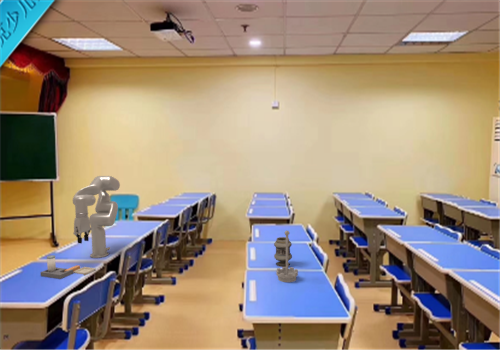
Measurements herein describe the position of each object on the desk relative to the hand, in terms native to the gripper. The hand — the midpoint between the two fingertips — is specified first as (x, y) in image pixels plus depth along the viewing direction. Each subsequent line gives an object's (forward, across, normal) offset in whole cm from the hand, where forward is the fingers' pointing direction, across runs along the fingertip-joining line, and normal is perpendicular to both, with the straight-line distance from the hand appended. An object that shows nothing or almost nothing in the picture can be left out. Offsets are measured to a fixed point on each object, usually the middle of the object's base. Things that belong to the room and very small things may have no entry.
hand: (83, 241), depth 249 cm
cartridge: (+17, +18, -9) cm, 26 cm away
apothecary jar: (+18, -47, +126) cm, 135 cm away
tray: (+17, +8, +8) cm, 20 cm away
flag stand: (+18, -22, +134) cm, 137 cm away
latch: (+17, +10, 0) cm, 20 cm away
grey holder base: (+17, +18, -4) cm, 26 cm away
